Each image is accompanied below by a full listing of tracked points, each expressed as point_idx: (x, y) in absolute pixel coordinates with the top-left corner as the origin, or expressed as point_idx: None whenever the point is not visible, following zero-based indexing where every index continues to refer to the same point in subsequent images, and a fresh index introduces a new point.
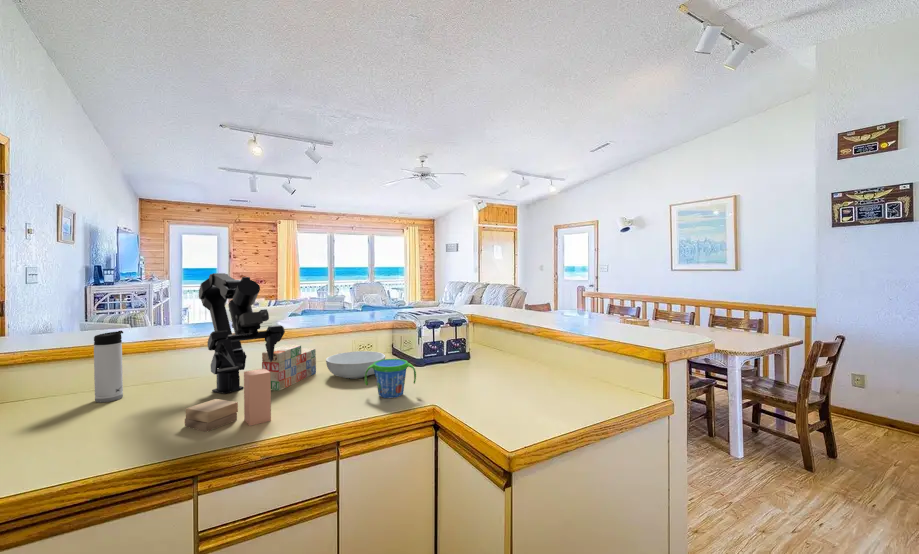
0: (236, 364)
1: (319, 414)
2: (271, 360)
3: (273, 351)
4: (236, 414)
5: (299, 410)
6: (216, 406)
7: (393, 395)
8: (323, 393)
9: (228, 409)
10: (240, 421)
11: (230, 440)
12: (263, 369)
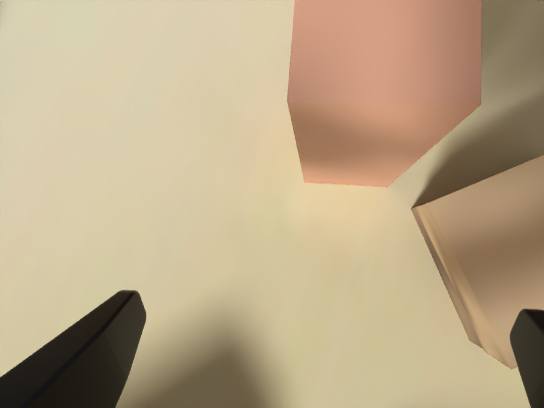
0: (531, 310)
1: (154, 49)
2: (138, 295)
3: (31, 357)
4: (419, 205)
5: (184, 140)
6: (540, 206)
7: None
8: (14, 277)
9: (474, 183)
10: (404, 181)
11: (486, 14)
12: (308, 72)
